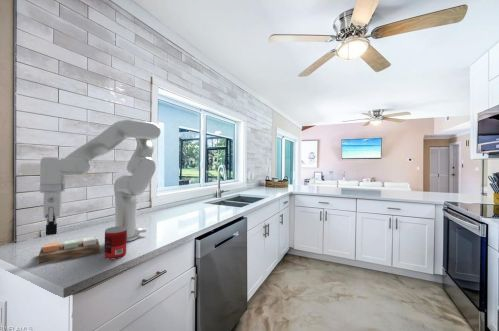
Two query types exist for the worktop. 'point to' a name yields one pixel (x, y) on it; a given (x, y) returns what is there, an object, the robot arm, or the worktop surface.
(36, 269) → the worktop surface
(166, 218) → the worktop surface
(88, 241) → the ivory key
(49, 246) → the terracotta key
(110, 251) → the canned food
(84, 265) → the worktop surface
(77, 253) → the key panel
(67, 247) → the sage key
